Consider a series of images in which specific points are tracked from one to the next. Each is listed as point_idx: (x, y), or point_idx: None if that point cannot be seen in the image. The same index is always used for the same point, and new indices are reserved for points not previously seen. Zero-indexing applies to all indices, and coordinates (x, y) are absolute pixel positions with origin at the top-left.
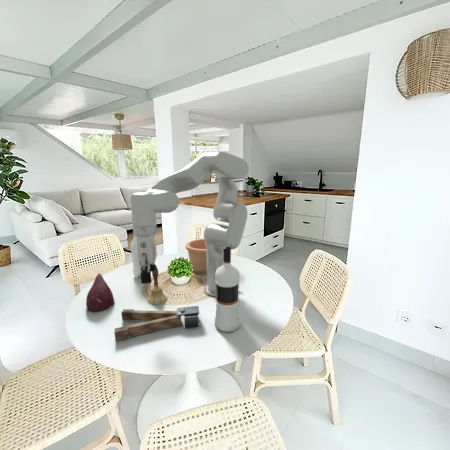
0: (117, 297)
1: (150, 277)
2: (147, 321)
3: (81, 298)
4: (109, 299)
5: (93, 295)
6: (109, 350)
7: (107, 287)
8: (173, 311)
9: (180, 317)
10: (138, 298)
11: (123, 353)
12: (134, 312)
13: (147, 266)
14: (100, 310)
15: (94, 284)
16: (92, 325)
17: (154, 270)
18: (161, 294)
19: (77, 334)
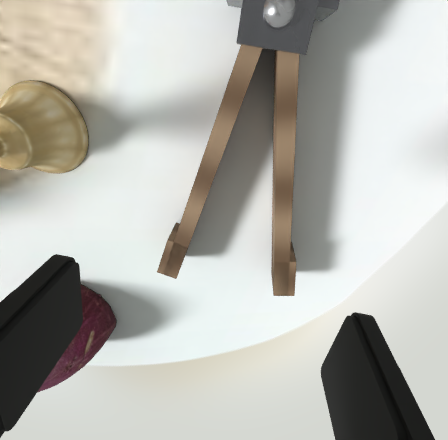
0: (26, 272)
1: (394, 367)
2: (275, 196)
3: None
4: None
5: (76, 368)
6: (319, 284)
7: None
8: (235, 67)
9: None
10: (34, 206)
11: (353, 252)
12: (190, 239)
13: (46, 360)
14: (111, 313)
15: None
16: (182, 323)
17: (70, 262)
18: (36, 114)
19: (214, 348)
